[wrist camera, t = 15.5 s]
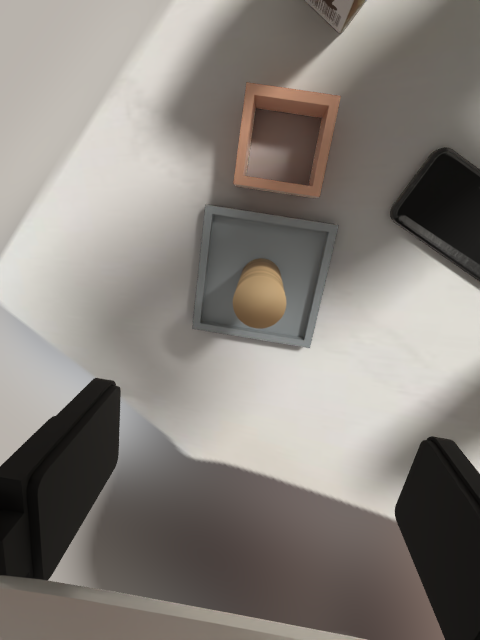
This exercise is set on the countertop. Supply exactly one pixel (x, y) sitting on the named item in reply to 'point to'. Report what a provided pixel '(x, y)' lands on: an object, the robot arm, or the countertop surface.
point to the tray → (269, 243)
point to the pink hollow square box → (293, 104)
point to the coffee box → (337, 11)
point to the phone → (444, 208)
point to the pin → (260, 294)
